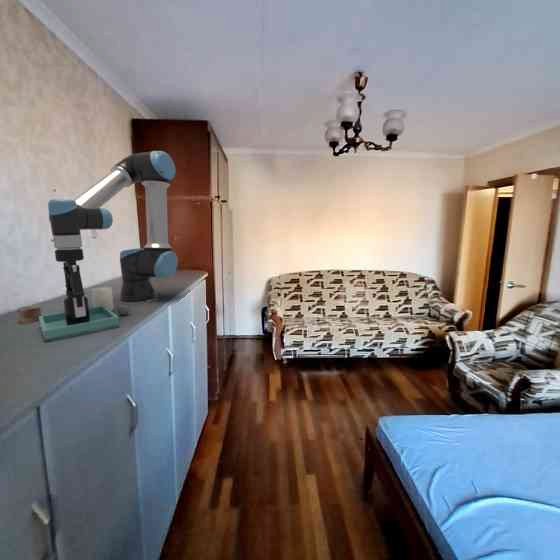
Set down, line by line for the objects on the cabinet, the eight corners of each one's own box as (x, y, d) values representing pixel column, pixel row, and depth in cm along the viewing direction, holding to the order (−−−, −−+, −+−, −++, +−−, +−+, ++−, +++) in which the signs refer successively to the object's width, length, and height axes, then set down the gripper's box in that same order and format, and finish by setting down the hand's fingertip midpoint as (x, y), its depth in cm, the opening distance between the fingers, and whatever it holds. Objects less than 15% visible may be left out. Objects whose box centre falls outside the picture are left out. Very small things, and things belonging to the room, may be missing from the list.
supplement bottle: (78, 327, 99) (73, 291, 97) (61, 326, 100) (56, 291, 98) (95, 321, 106) (91, 287, 103) (78, 320, 107) (74, 286, 105)
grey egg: (128, 312, 119) (127, 303, 118) (131, 315, 116) (130, 304, 115) (116, 315, 116) (115, 304, 115) (119, 317, 113) (118, 306, 112)
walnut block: (36, 318, 114) (34, 305, 113) (42, 320, 111) (40, 307, 110) (19, 322, 109) (17, 308, 109) (25, 324, 107) (22, 310, 106)
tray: (105, 314, 117) (104, 305, 116) (119, 326, 102) (118, 316, 102) (40, 326, 104) (38, 316, 103) (45, 342, 89) (43, 331, 89)
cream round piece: (111, 307, 128) (109, 286, 126) (116, 310, 123) (113, 288, 121) (92, 310, 123) (89, 288, 121) (96, 313, 118) (93, 291, 116)
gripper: (50, 247, 105) (59, 307, 109) (59, 251, 87) (69, 323, 91) (76, 246, 110) (83, 303, 114) (89, 249, 92) (98, 317, 96)
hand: (77, 312), depth 102 cm, fingers open, 12 cm apart
